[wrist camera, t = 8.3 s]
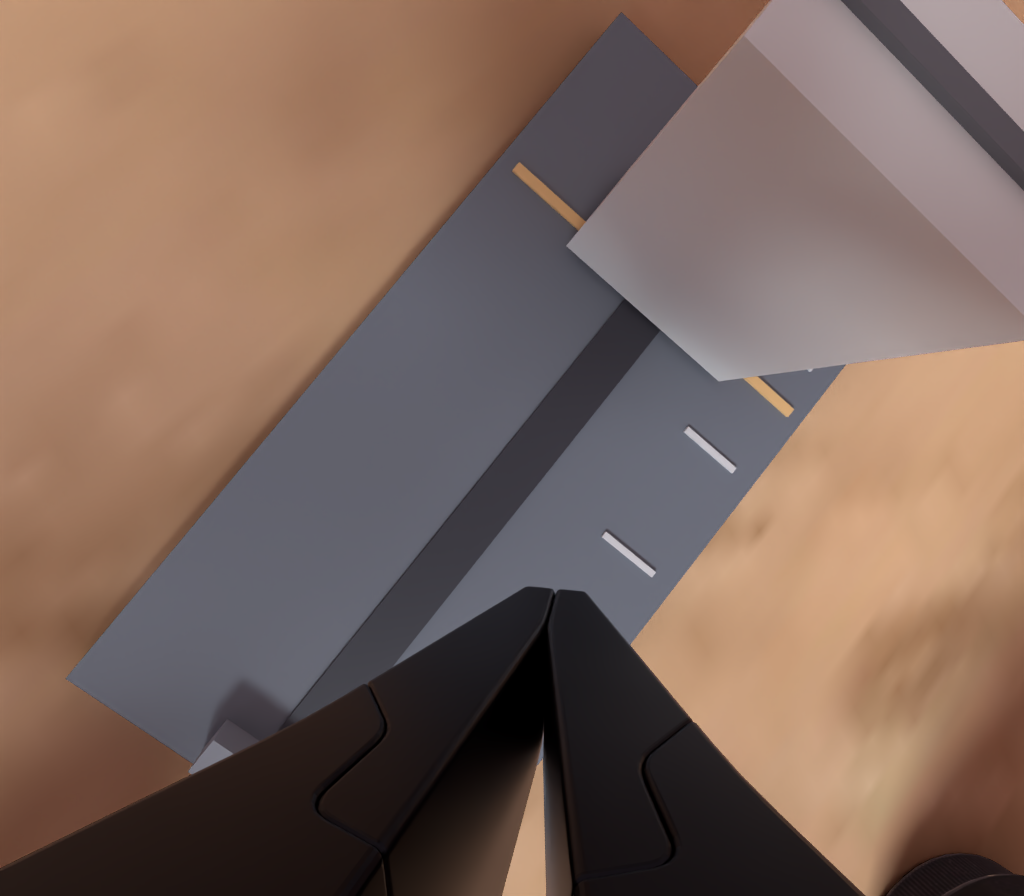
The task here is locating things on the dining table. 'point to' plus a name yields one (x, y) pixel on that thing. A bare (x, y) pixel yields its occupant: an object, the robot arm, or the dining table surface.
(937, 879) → the camera lens
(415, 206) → the dining table surface
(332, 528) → the mixer panel
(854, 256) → the fader knob
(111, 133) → the dining table surface
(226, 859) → the robot arm
